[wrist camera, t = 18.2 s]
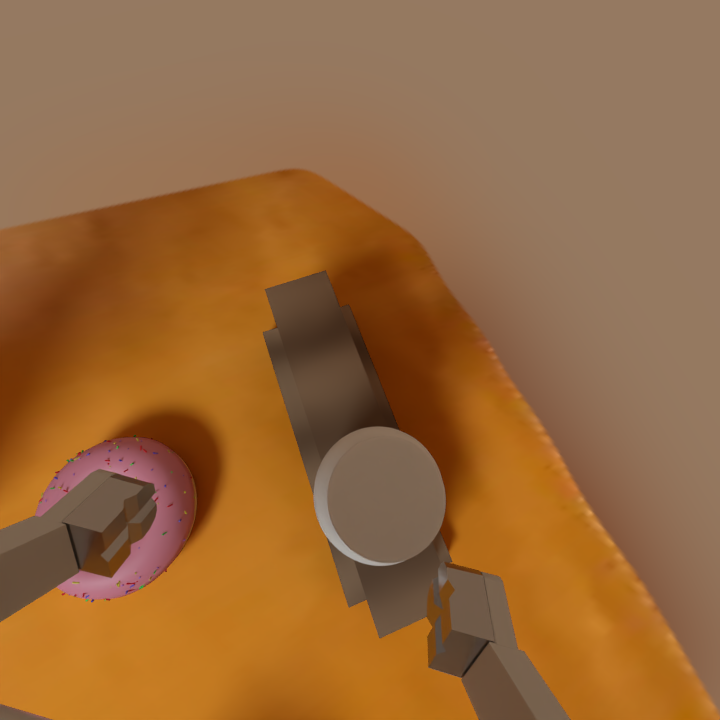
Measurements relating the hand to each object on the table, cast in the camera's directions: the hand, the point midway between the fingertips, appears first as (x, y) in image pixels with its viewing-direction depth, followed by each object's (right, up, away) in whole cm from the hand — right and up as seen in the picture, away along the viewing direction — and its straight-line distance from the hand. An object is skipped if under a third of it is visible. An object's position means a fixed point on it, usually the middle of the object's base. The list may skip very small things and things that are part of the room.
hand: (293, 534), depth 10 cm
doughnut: (-16, -7, +18) cm, 25 cm away
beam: (+1, -2, +20) cm, 20 cm away
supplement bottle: (+2, -3, +11) cm, 12 cm away
